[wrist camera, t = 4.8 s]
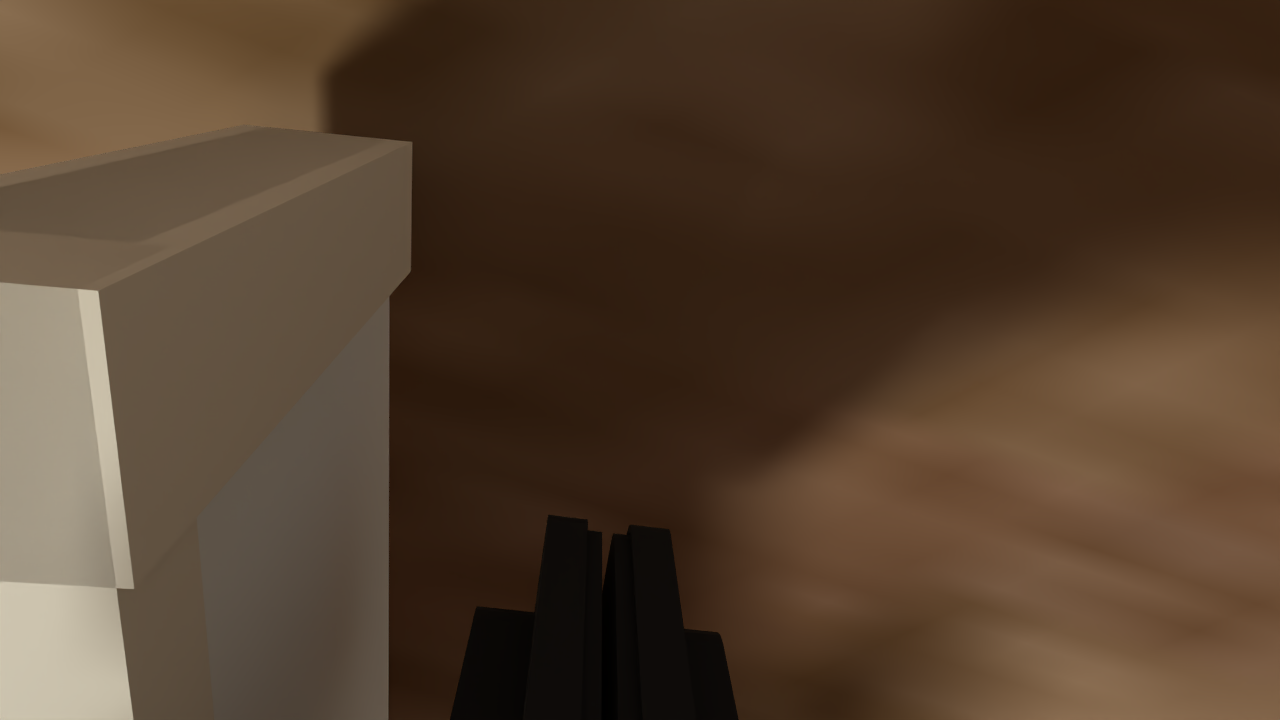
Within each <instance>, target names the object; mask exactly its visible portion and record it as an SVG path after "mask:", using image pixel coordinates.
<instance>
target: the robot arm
mask: <svg viewBox="0 0 1280 720" xmlns="http://www.w3.org/2000/svg"><path fill="white" fill-rule="evenodd" d="M450 720H738V715H737V710H736V705H735V700H734V696H733V691H732V686H731V681H730V676H729V671H728V666H727V661H726V656H725V651H724V646H723V642H722V639H721V636H720V635H719V634H718V633H717V632H708V631H699V630H690V629H684V626H683V619H682V612H681V605H680V598H679V591H678V584H677V576H676V569H675V562H674V555H673V548H672V541H671V534H670V530H669V529H662V528H654V527H645V526H637V525H630V526H629V528H628V531H627V535H623V534H614V533H613V536H612V540H611V545H610V551H609V556H608V562H607V568H606V574H605V579H604V585H603V591H602V532H597V531H589V530H588V520H587V519H578V518H570V517H562V516H553V515H548V520H547V527H546V534H545V541H544V548H543V555H542V562H541V569H540V576H539V583H538V590H537V597H536V604H535V611H534V612H524V611H515V610H506V609H497V608H488V607H479V606H477V608H476V611H475V614H474V618H473V623H472V627H471V631H470V636H469V640H468V644H467V649H466V653H465V658H464V662H463V666H462V671H461V675H460V679H459V684H458V688H457V692H456V697H455V701H454V705H453V710H452V714H451V718H450Z"/></svg>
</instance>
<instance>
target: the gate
mask: <svg viewBox="0 0 1280 720" xmlns="http://www.w3.org/2000/svg"><path fill="white" fill-rule="evenodd" d="M411 217H412V142H408V141H399V140H389V139H379V138H369V137H359V136H349V135H340V134H330V133H320V132H310V131H300V130H290V129H281V128H271V127H261V126H251V125H241V126H236V127H231V128H227V129H222V130H217V131H212V132H207V133H202V134H197V135H192V136H187V137H182V138H177V139H172V140H168V141H163V142H158V143H153V144H148V145H143V146H138V147H133V148H128V149H123V150H118V151H113V152H109V153H104V154H99V155H94V156H89V157H84V158H79V159H74V160H69V161H64V162H59V163H54V164H50V165H45V166H40V167H35V168H30V169H25V170H20V171H15V172H10V173H5V174H0V720H388V696H389V296H390V295H391V294H392V292H393V291H394V290H395V289H396V288H397V287H398V286H399V284H400V283H401V282H402V281H403V280H404V279H405V277H406V276H407V275H408V274H409V273H410V272H411Z"/></svg>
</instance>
